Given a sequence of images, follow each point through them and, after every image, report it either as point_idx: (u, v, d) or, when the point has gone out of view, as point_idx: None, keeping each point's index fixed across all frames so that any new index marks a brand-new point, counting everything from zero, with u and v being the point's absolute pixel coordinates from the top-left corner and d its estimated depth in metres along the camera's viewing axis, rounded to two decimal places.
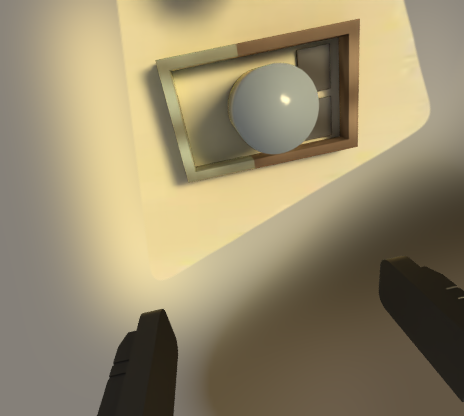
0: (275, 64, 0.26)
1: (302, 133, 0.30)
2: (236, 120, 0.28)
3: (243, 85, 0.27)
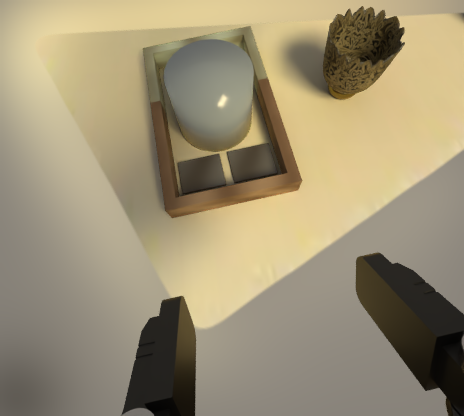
0: (251, 65, 0.27)
1: (184, 97, 0.26)
2: (200, 41, 0.28)
3: (232, 44, 0.28)
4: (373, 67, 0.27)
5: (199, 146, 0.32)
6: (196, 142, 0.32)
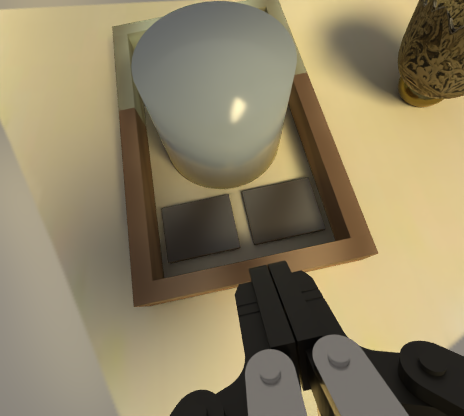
0: (292, 43, 0.15)
1: (170, 102, 0.14)
2: (196, 5, 0.16)
3: (252, 8, 0.16)
4: None
5: (198, 181, 0.20)
6: (193, 176, 0.19)
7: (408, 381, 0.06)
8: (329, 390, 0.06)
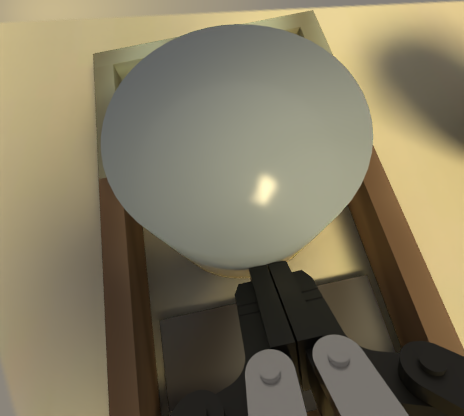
0: (356, 87, 0.09)
1: (174, 217, 0.08)
2: (193, 34, 0.10)
3: (281, 32, 0.10)
4: None
5: (216, 274, 0.14)
6: (209, 271, 0.14)
7: (408, 381, 0.06)
8: (329, 390, 0.06)
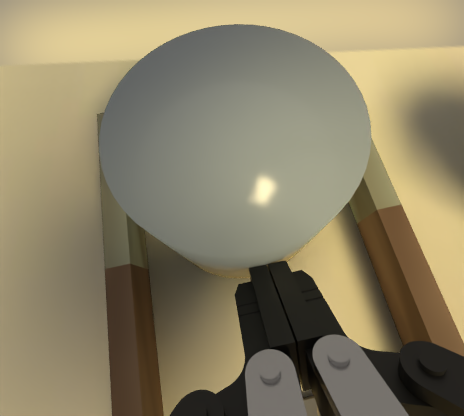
0: (354, 87, 0.09)
1: (172, 218, 0.08)
2: (191, 34, 0.10)
3: (280, 32, 0.10)
4: None
5: (215, 274, 0.14)
6: (208, 271, 0.14)
7: (408, 381, 0.06)
8: (329, 390, 0.06)
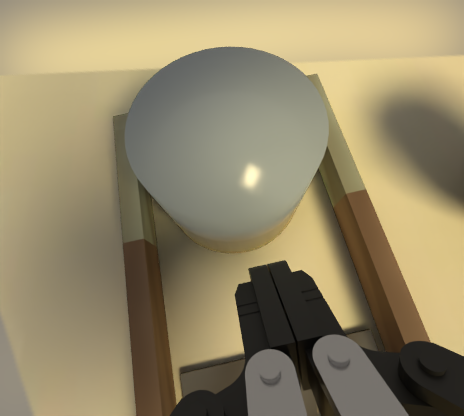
0: (318, 96, 0.12)
1: (181, 192, 0.11)
2: (194, 54, 0.13)
3: (262, 53, 0.13)
4: None
5: (213, 249, 0.17)
6: (207, 245, 0.17)
7: (408, 381, 0.06)
8: (329, 390, 0.06)
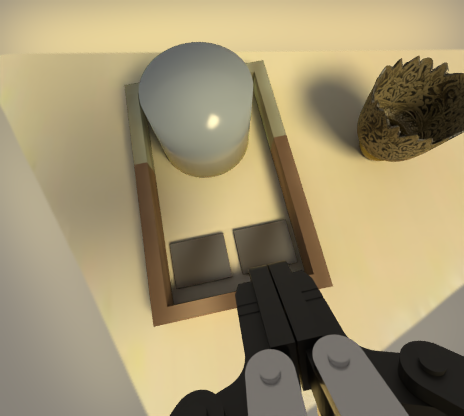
0: (249, 73, 0.22)
1: (170, 123, 0.20)
2: (178, 46, 0.22)
3: (219, 46, 0.22)
4: (433, 144, 0.20)
5: (191, 173, 0.27)
6: (187, 170, 0.26)
7: (408, 381, 0.06)
8: (329, 390, 0.06)
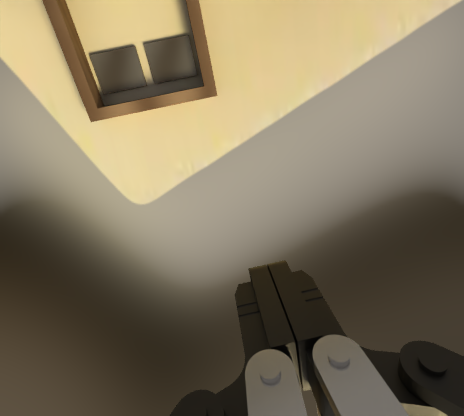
0: None
1: None
2: None
3: None
4: None
5: None
6: None
7: (408, 381, 0.06)
8: (329, 390, 0.06)
